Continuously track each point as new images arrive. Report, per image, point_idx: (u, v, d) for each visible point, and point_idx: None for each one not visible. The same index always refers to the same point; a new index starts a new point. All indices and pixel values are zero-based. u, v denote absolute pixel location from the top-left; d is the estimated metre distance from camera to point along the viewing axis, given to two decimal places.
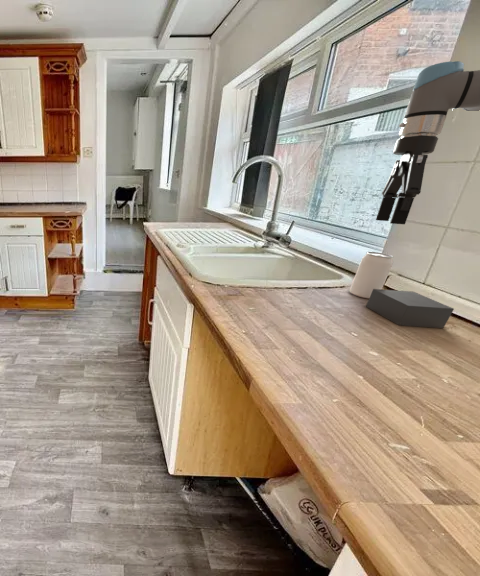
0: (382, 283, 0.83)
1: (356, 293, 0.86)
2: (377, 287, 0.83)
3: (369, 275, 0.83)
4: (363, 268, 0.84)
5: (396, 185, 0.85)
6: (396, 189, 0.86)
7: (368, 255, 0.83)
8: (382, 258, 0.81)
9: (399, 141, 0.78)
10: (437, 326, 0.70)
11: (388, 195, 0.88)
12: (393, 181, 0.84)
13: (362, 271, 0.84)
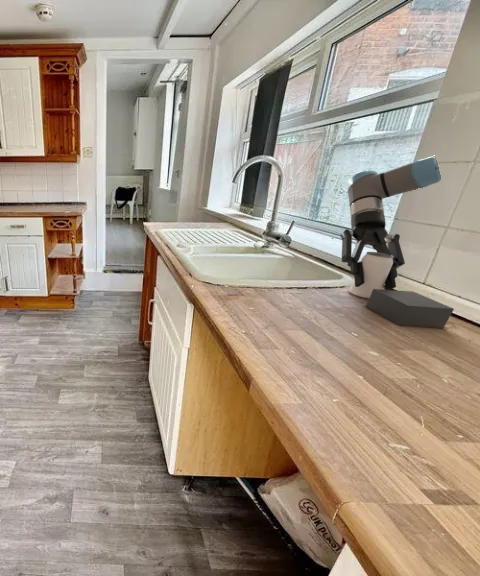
0: (382, 283, 0.83)
1: (356, 293, 0.86)
2: (377, 287, 0.83)
3: (369, 275, 0.83)
4: (363, 268, 0.84)
5: None
6: None
7: (368, 255, 0.83)
8: (382, 258, 0.81)
9: None
10: (437, 326, 0.70)
11: None
12: (378, 252, 0.87)
13: None
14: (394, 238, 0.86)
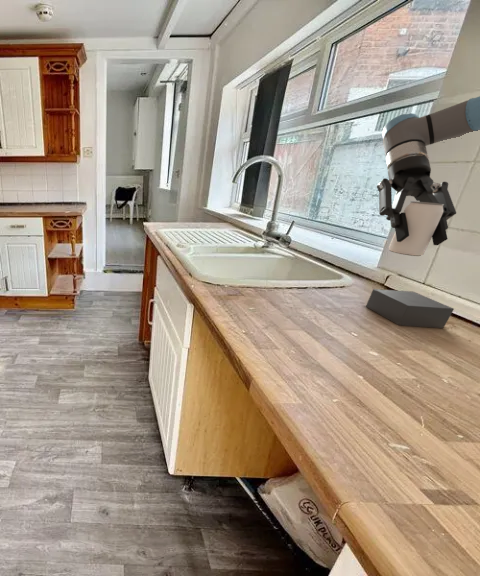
0: (429, 236, 0.71)
1: (397, 250, 0.74)
2: (424, 241, 0.71)
3: (415, 227, 0.71)
4: (407, 220, 0.72)
5: None
6: None
7: (413, 204, 0.71)
8: (431, 205, 0.69)
9: None
10: (437, 326, 0.70)
11: None
12: None
13: None
14: (442, 186, 0.74)
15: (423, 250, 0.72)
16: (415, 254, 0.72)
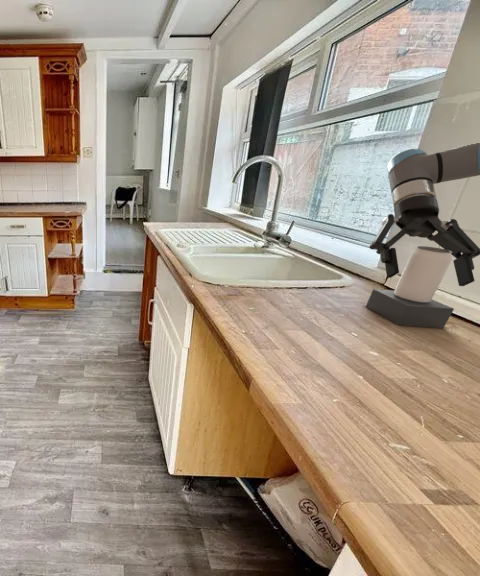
0: (437, 284, 0.68)
1: (404, 296, 0.72)
2: (431, 288, 0.68)
3: (422, 274, 0.68)
4: (414, 266, 0.69)
5: (447, 244, 0.71)
6: (455, 247, 0.70)
7: (420, 250, 0.69)
8: (439, 253, 0.66)
9: None
10: (437, 326, 0.70)
11: (460, 256, 0.70)
12: (438, 243, 0.72)
13: (412, 269, 0.70)
14: (452, 225, 0.72)
15: (430, 297, 0.69)
16: (422, 301, 0.70)
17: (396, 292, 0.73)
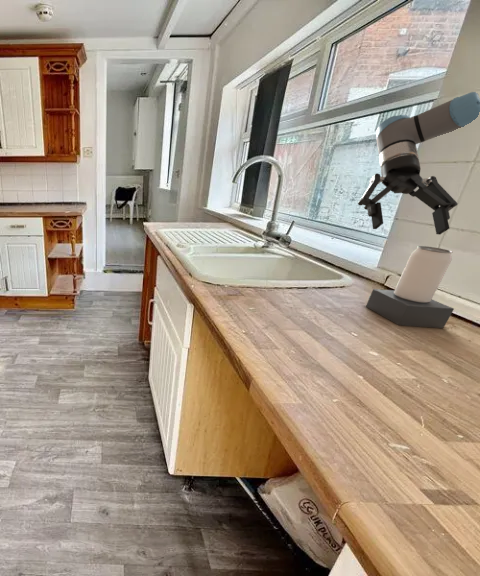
0: (437, 284, 0.68)
1: (404, 296, 0.72)
2: (431, 288, 0.68)
3: (422, 274, 0.68)
4: (413, 266, 0.69)
5: (427, 198, 0.79)
6: (433, 200, 0.78)
7: (420, 250, 0.69)
8: (439, 253, 0.66)
9: None
10: (437, 326, 0.70)
11: None
12: (419, 198, 0.81)
13: (412, 269, 0.70)
14: (432, 181, 0.80)
15: (430, 297, 0.69)
16: (422, 301, 0.70)
17: (396, 292, 0.73)
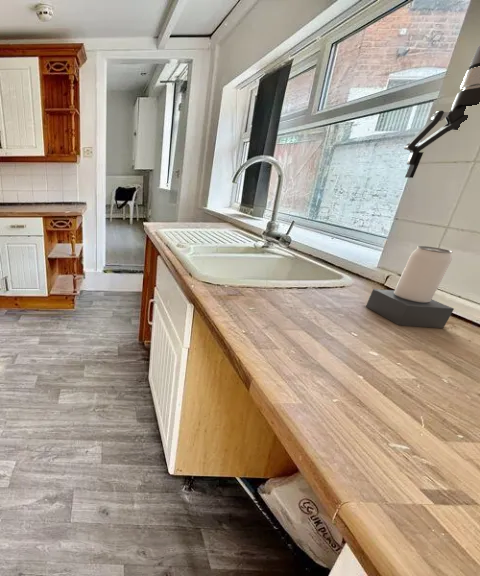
0: (437, 284, 0.68)
1: (404, 296, 0.72)
2: (431, 288, 0.68)
3: (422, 274, 0.68)
4: (413, 266, 0.69)
5: None
6: None
7: (420, 250, 0.69)
8: (439, 253, 0.66)
9: None
10: (437, 326, 0.70)
11: None
12: None
13: (412, 269, 0.70)
14: None
15: (430, 297, 0.69)
16: (422, 301, 0.70)
17: (396, 292, 0.73)
